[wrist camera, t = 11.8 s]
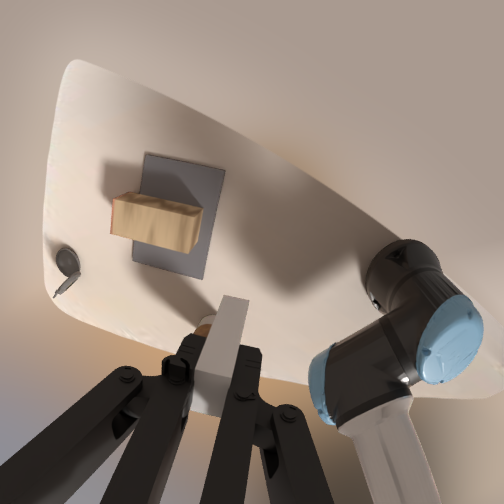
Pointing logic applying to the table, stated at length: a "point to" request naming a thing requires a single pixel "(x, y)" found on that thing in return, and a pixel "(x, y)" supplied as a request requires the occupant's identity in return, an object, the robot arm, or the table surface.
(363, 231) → the table surface
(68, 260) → the pocket watch
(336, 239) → the table surface
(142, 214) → the oak block
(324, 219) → the table surface
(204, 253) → the rubber mat
